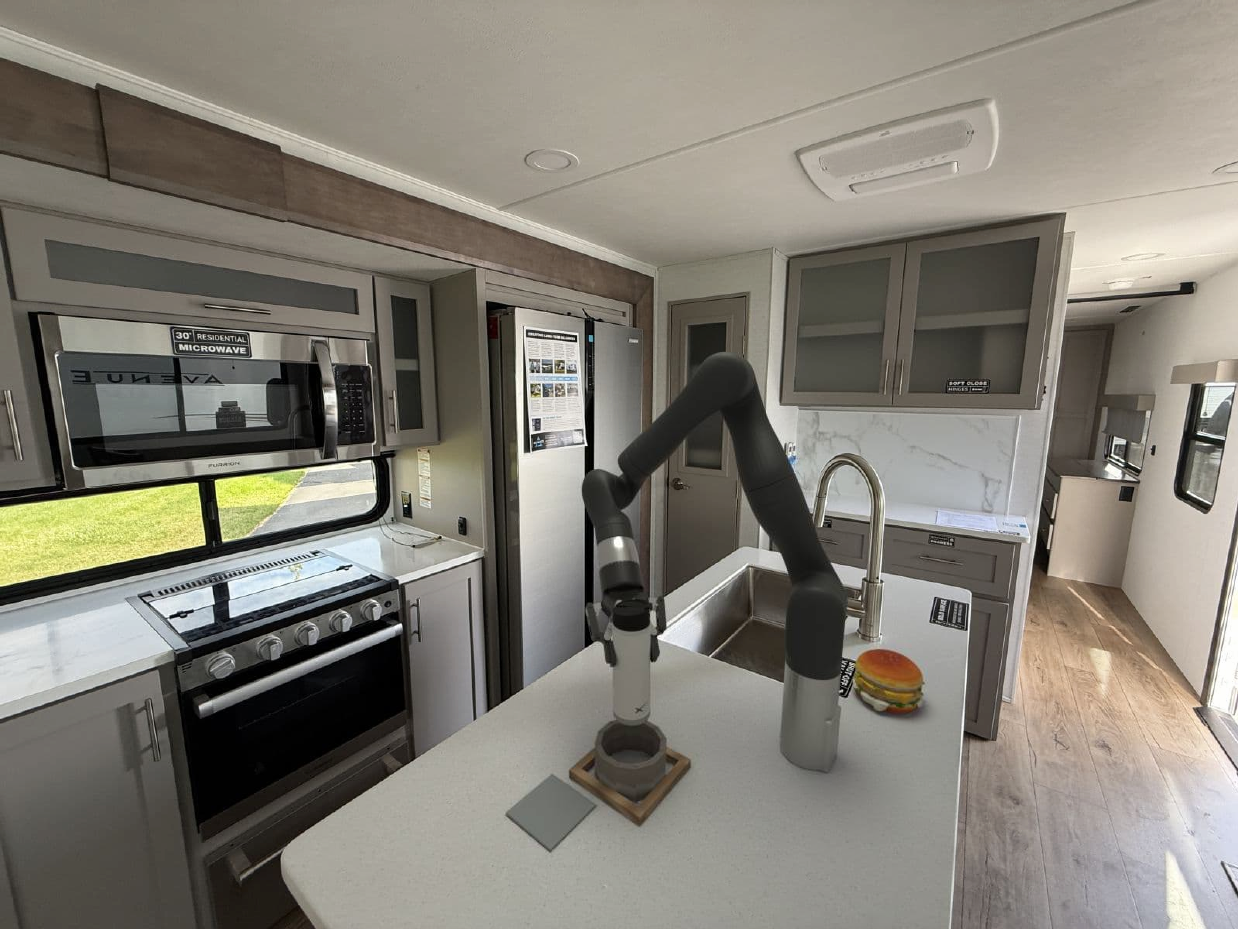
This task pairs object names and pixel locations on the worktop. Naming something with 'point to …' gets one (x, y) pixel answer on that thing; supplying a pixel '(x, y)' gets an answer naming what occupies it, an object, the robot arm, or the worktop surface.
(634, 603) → the travel mug
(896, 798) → the worktop surface
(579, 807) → the coaster
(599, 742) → the ring holder
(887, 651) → the burger
